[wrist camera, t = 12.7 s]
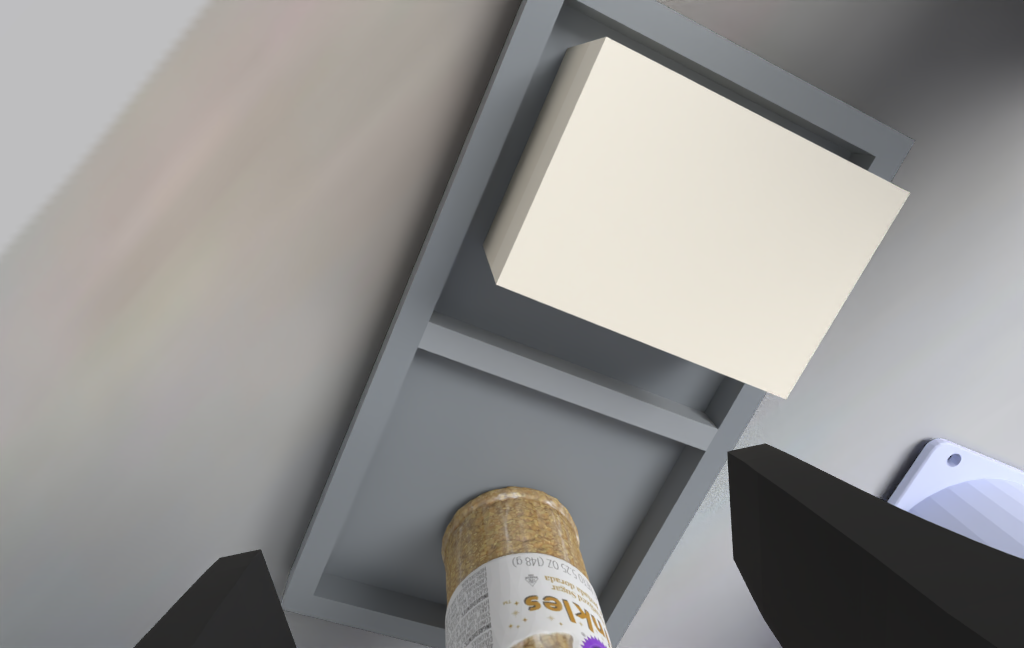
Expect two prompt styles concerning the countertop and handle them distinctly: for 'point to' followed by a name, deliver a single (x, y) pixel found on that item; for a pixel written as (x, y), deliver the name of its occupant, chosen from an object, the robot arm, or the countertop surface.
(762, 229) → the plain cream box
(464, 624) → the sprinkles bottle
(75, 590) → the countertop surface
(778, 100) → the tray
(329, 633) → the countertop surface
